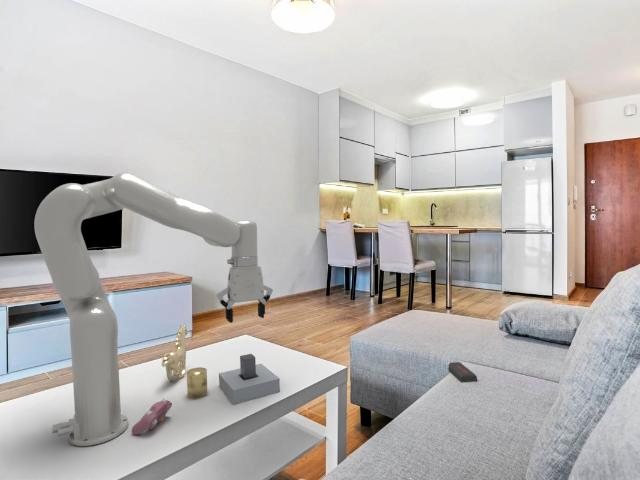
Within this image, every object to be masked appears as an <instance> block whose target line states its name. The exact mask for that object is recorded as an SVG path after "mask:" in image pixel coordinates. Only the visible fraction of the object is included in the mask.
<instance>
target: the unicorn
mask: <svg viewBox="0 0 640 480" xmlns="http://www.w3.org/2000/svg"><path fill="white" fill-rule="evenodd" d="M188 332H189V331H188V330H187V325H186V320H184V321H183V325H182V324H181V325H179V329H178V331H177V332H176V338H175V343H174V347H173V350H172V351H170V352H166V353H164V356H162V361H161V366H162V368H164V367H165V371H166V378H167V379H168V380H169V382H174V379H173V377H172V374H173V375H174V376H178V378H179V379H181V378H183V376H184V374H185V371H186V361H187V360H186V359H187V357H186V356H187V342H186V340H187V339H186V336H187V335H188ZM179 371H180V372H179Z"/></svg>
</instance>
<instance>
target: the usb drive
mask: <svg viewBox="0 0 640 480" xmlns="http://www.w3.org/2000/svg"><path fill="white" fill-rule="evenodd" d="M446 367H447V368H448V372H449V373H450V374H451V375H452V376H453V377H454V378H455V379H457V380H458V381H459V382H460V383H472V382H473V383H474V382H475V383H476V382H478V376H477V375H476V373H474V372H473V371H472V370H471V369H469V368H468V367H466V366H465V364H463V363H461V362H459V361H451V362H450V361H448V362H446Z"/></svg>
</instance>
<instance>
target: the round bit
mask: <svg viewBox="0 0 640 480" xmlns="http://www.w3.org/2000/svg"><path fill="white" fill-rule="evenodd" d="M207 370H208V369H207V368H206V367H201V366H200V367H194V368H190V369H188V370H187V371H186V389H187V390H186V392H187V393H186V395H187V398H188V399H191V400H198V399H202V398H205V397H206V396H207V395H208V394H209V393H208V371H207Z"/></svg>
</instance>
